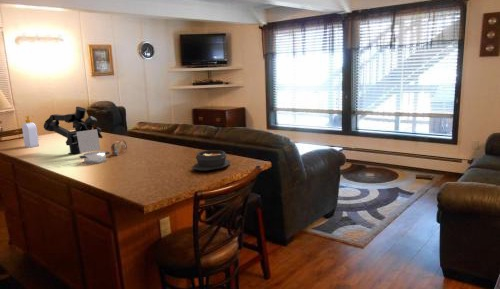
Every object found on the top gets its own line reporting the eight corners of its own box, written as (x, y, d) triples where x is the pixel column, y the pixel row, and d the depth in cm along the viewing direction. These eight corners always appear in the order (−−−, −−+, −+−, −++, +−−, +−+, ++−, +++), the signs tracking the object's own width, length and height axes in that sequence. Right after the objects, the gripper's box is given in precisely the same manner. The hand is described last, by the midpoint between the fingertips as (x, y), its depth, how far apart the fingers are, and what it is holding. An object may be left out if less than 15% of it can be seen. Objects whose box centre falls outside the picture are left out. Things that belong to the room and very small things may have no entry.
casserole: (210, 175, 190) (209, 159, 189) (183, 171, 200) (182, 155, 199) (238, 164, 211) (238, 150, 209) (212, 161, 221) (212, 147, 219)
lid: (80, 153, 226) (79, 153, 228) (100, 149, 234) (99, 150, 236) (76, 131, 225) (75, 132, 227) (97, 129, 233) (95, 129, 235)
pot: (77, 162, 226) (76, 154, 225) (105, 157, 237) (104, 150, 236) (84, 166, 217) (83, 157, 216) (113, 160, 228) (112, 152, 227)
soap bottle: (40, 145, 283) (36, 115, 278) (30, 147, 277) (26, 116, 273) (34, 144, 288) (30, 115, 283) (24, 146, 282) (20, 116, 278)
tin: (115, 156, 240) (114, 143, 238) (111, 156, 241) (109, 143, 239) (127, 151, 254) (126, 139, 253) (123, 151, 255) (122, 139, 253)
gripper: (77, 110, 235) (93, 121, 229) (97, 117, 252) (113, 128, 247) (68, 125, 235) (84, 137, 229) (89, 132, 252) (104, 143, 247)
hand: (97, 136), depth 238 cm, fingers open, 9 cm apart
